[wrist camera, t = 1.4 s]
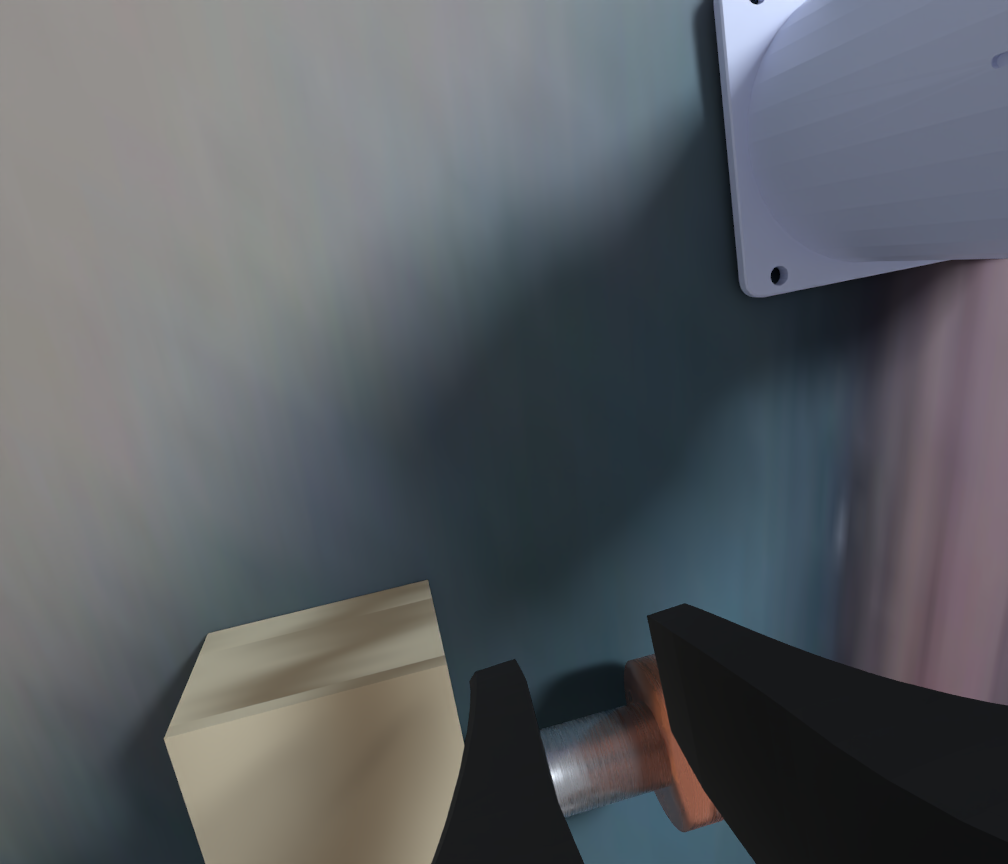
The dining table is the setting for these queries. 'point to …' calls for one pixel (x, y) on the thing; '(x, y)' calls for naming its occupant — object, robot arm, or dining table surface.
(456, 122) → the dining table surface
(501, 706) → the robot arm
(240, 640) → the hitch block
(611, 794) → the pin
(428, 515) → the dining table surface
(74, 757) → the dining table surface
